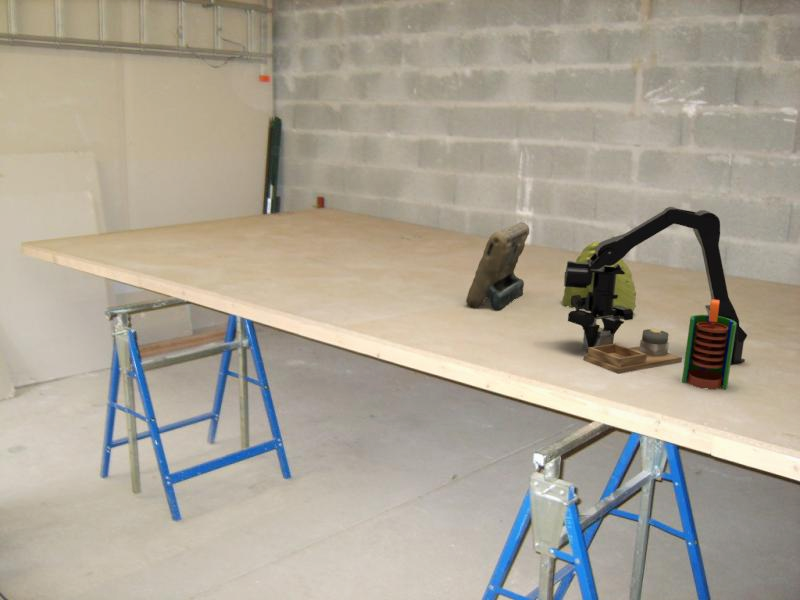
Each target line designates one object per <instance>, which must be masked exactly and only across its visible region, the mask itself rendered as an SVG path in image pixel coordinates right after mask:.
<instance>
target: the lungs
mask: <svg viewBox="0 0 800 600" xmlns="http://www.w3.org/2000/svg"><path fill="white" fill-rule="evenodd" d="M613 237H615V236H611V237H610V238H613ZM599 243H600V242H598V241H593V242H592V243H589V244H588V245H587V246H585V247H584V248H583V249H582V251H581V252H580V254H579V255H578V256H577V258H576V260H575V262H579V263H587V261H588V260H589V259H590V258H591V257H592V255H593V254H594V253H595V250H596V246H597V245H598V244H599ZM624 258H625V256H624V257H623V258H622V259H621V260H619V261H618V262H617V263H616V264H614V265H612V267H614V266H616V265H617V264H619V265H620V267H621V269H622V270H623V271H624V272H625V274H624V275H622V274H617V275H616V285H615V294H617V295H618V298H617V299H614V303H613V306H616V305H620V306H623V307H627V308H630V309H632V311H633V312H634V311H635V308H636V306H637V304H636V300H637V291H636V286H635V281H634V280H633V275H632V271H631V269H630V268H629V265H627V263H626V262H625V261H624V260H623V259H624ZM605 266H606V265H605ZM600 269H603V267H602V268H600ZM593 280H594V273H592V281H591V285H589V286H587V288H574V287H565V288H564V290H563V291H564V292H563V296H562V300H561V302H562V303H561V304H562V305H563V306H564V305H565V306H564V307H566V306H569V307H568V308H572V306H571V297H572V296H574V295H580V296H581V298H584V297H588V293H589V292H590V291H592V290H593ZM597 316H599V315H597Z"/></svg>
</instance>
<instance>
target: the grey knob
mask: <svg viewBox="0 0 800 600" xmlns="http://www.w3.org/2000/svg"><path fill="white" fill-rule="evenodd" d="M669 336H670V335H669V333H668V332H667V331H664V330H660V329H655V328H650V329H648V328H647V329H644V330H643V331H642V336H641V340H643V341H644V342H647V343H652V344H666V343H669V342H668V341H669Z"/></svg>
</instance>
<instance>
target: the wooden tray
mask: <svg viewBox="0 0 800 600" xmlns="http://www.w3.org/2000/svg"><path fill="white" fill-rule="evenodd" d="M669 346H670V345H669V342H668V343H666V344H652V343H647V342H644V341H643V340H642V339H640V343H639V346H633V347H626V346H624V345H621V344H618V343H613V344H608V345H602V346H595V347H589V349H588V350H587V354H585V355H583V359H582V360H583V361H585V362H588V363H590V364H593V365H595V366H598V367H601V368H603V369H606V370H608V371H611V372H613V373H616V374H617V375H618V374H623V373H629V371H630V372H635V371H639V370H645V369H651V368H655V367H662V366H666V365H672V364H678V363H682V361H683V357H682V356H679V355H676V354H673V353H670V352H669Z"/></svg>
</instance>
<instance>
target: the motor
mask: <svg viewBox="0 0 800 600" xmlns="http://www.w3.org/2000/svg"><path fill="white" fill-rule="evenodd" d="M709 305H710V315H708V314H695V315H691V316H690V318H689V326H688V332H687V333H688V334H687V341H686V346H685V347H686V349H685V356H684V361H683V362H684V363H683V364H684V365H683V369H682V379H681V382H682V383H684V384H686V383H688V385H691V386H692V385H693V386H692V387H695V386H696V387H695V388H698V387H699V389H703V388H708V389H707V390H717V389H716V388H719V389H721V388H724V389H723V390H727V389H728V384H729V376H730V372H731V365H732V364H731V358H732V352H733V345H734V338H735V331H736V325H737V323H736V322H735V321H733V320H731V319H728V318H724V317H720V316H718V311H719V300H715V299H711V298H710V304H709ZM721 386H722V387H721ZM720 387H721V388H720ZM726 388H727V389H726Z"/></svg>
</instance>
